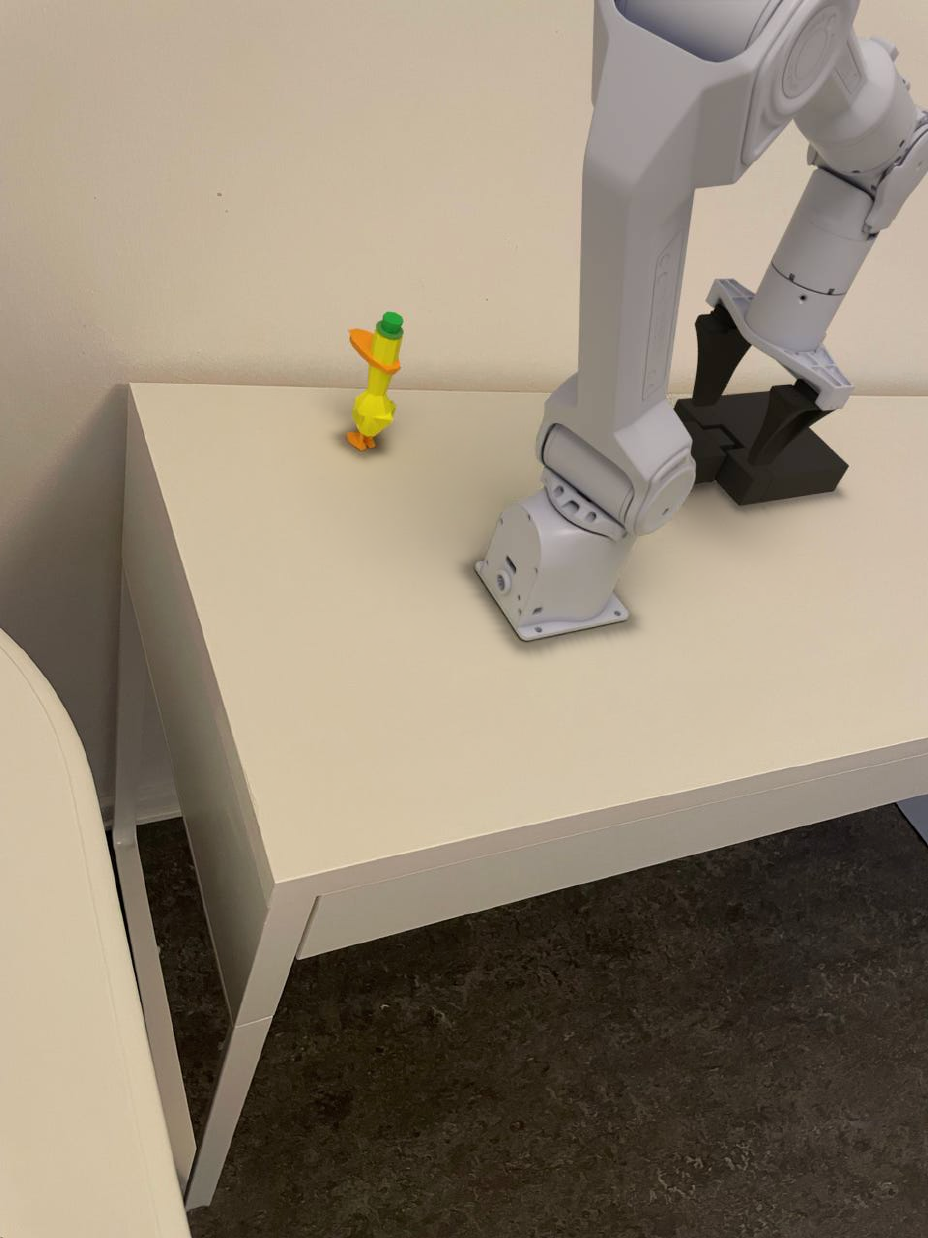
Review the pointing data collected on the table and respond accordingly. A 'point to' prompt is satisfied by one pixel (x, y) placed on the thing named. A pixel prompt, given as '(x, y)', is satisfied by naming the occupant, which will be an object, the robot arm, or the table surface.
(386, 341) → the toy figure
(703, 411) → the big pad
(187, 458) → the table surface
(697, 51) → the robot arm
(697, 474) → the dark brown stepped block
